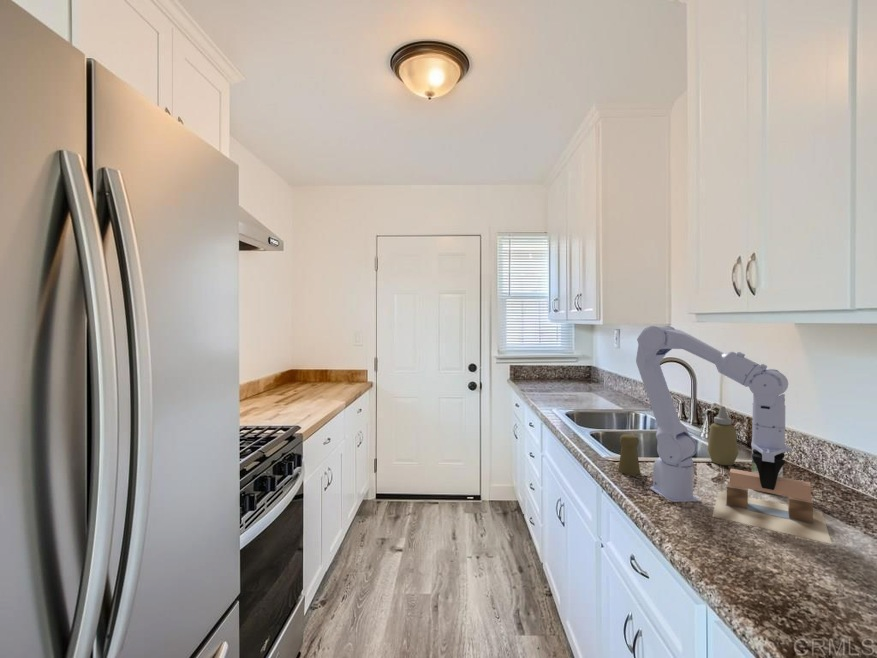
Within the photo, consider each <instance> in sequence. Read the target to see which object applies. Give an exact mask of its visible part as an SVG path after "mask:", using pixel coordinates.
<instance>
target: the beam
mask: <svg viewBox="0 0 877 658" xmlns="http://www.w3.org/2000/svg"><path fill="white" fill-rule="evenodd" d="M729 482H730V485H732V486H737V487H742V488H747V489H748V490H753V491H759V492H764V493H767V492H768V493H767V494H771V493H773V494H772V495H775V494H778V495H779V496H782V497H783V496H784V497H787V498H788V497H793V498H798V499H804V500H809V501H811V498H812V486H811V485H812V483H811V482H810V481H805V480H799V479H793V478H787V477H777V481H776V485H775V488H774V490H770V489H765V488H762V486H761V483H760V478H759V473H754V472H752V471H747V470H741V469H736V468H730V470H729ZM778 495H777V496H778Z"/></svg>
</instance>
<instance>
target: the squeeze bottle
mask: <svg viewBox="0 0 877 658" xmlns="http://www.w3.org/2000/svg"><path fill="white" fill-rule="evenodd" d="M732 421H733V420H732V418H730V417H728V414H727V409H726V407H725V406H723V405H722V406H720V407H719V410H718V414H717V416H714V417H713V423H711V424H710V426H709V435H708V443H707V451H708V456H709V458H710V460H711V462H712V463H714V464H717V465H720V466H734V464H735V462H736V460H737V458H738V455H739V450H738V440H737V431H736V427H735V426H734V425H732V424H733V423H732Z"/></svg>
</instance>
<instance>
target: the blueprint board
mask: <svg viewBox="0 0 877 658" xmlns="http://www.w3.org/2000/svg"><path fill="white" fill-rule="evenodd" d="M748 491H749V489H747V488H742V487H737V486H732V485H730V481H727V485H726V492H724V491H718V493H717V497H716V500H715V504H714V508H713V512H712V517H713V518H716V519H717V518H718V519H722V520H725V521H726V520H727V521H730V522H736V523H738V524H739V523H740V524H743V525H748V526H752V527H757V528H760V529H761V528H762V529H764V530H770V531H773V532H777V533H782V534H786V535H789V536H793V537H800V538H803V539H808V540H812V541H815V542H816V541H817V542H821V543H825V544H829V545H832V544H833V543H832V540H831V537H830V534H829V530H828V527H827V524H826V521H825V517H824V514H823V511H818V510H814V501H813V499H812V497H811V501H809V500H804V499H798V498H793V497H788V496H787V498H788V502H787V503H788V504H785V503H780V502H773V501H770V500H766V499H759V498H754V497H749V495H748V494H749V492H748Z"/></svg>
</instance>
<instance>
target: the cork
mask: <svg viewBox="0 0 877 658" xmlns="http://www.w3.org/2000/svg"><path fill="white" fill-rule="evenodd" d="M619 442H620V445H621V448H620V449H621V450H620V456H619V462H618V468H617V469H618V472H619V473H620V474H625V475H628V476H629V475H630V476H636V475H637V476H638V475H640V474H641V468H640V462H639V456H638V454H639V453H638V446H639V438H638V437H637V436H636V435H634V434H629V433H627V434H626V433H624V434H622V435H620V437H619Z"/></svg>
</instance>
